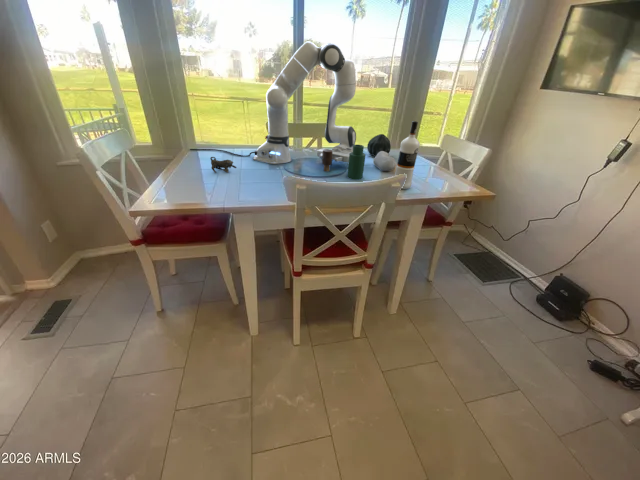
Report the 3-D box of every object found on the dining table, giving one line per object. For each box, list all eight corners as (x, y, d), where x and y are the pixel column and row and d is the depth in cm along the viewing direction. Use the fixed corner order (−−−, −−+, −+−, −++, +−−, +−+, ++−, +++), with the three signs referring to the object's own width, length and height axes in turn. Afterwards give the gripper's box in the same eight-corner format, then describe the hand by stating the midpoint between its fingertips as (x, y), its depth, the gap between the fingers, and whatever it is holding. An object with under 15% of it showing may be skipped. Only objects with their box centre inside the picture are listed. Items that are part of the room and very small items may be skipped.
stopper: (320, 171, 148) (321, 150, 142) (323, 168, 152) (324, 148, 146) (329, 172, 147) (331, 152, 141) (332, 170, 151) (333, 149, 145)
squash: (375, 142, 188) (372, 127, 175) (395, 147, 181) (393, 132, 168) (366, 159, 186) (361, 145, 173) (386, 165, 179) (383, 150, 166)
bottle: (345, 178, 141) (348, 146, 132) (348, 173, 147) (352, 143, 138) (360, 180, 139) (365, 148, 130) (363, 175, 145) (367, 145, 137)
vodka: (400, 182, 140) (413, 119, 124) (414, 188, 133) (430, 122, 117) (387, 184, 135) (399, 120, 119) (401, 191, 129) (416, 123, 113)
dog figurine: (210, 173, 138) (208, 158, 134) (213, 169, 143) (211, 155, 139) (235, 173, 139) (233, 158, 135) (237, 169, 144) (235, 155, 140)
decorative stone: (369, 159, 163) (380, 145, 158) (380, 168, 167) (392, 155, 163) (377, 170, 149) (390, 156, 145) (389, 180, 153) (402, 166, 149)
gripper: (323, 144, 160) (311, 149, 149) (355, 150, 152) (345, 155, 141) (323, 155, 163) (311, 160, 153) (354, 161, 155) (344, 167, 145)
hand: (328, 158), depth 147 cm, fingers open, 8 cm apart
